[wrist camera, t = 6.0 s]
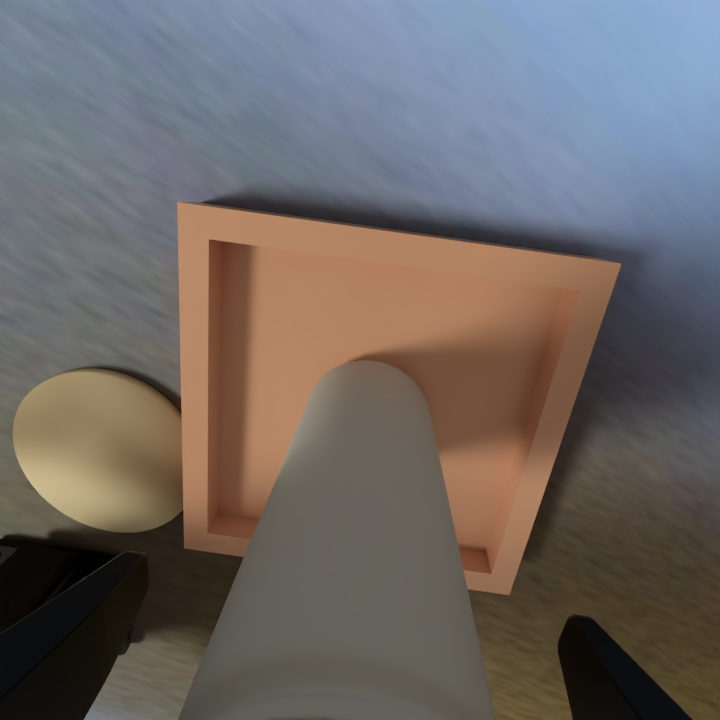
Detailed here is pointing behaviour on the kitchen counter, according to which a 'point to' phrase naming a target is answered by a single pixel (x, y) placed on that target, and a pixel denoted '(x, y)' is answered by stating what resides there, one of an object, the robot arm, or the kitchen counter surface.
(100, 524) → the cork coaster
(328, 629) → the beverage can
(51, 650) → the robot arm
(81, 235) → the kitchen counter surface
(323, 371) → the tray
